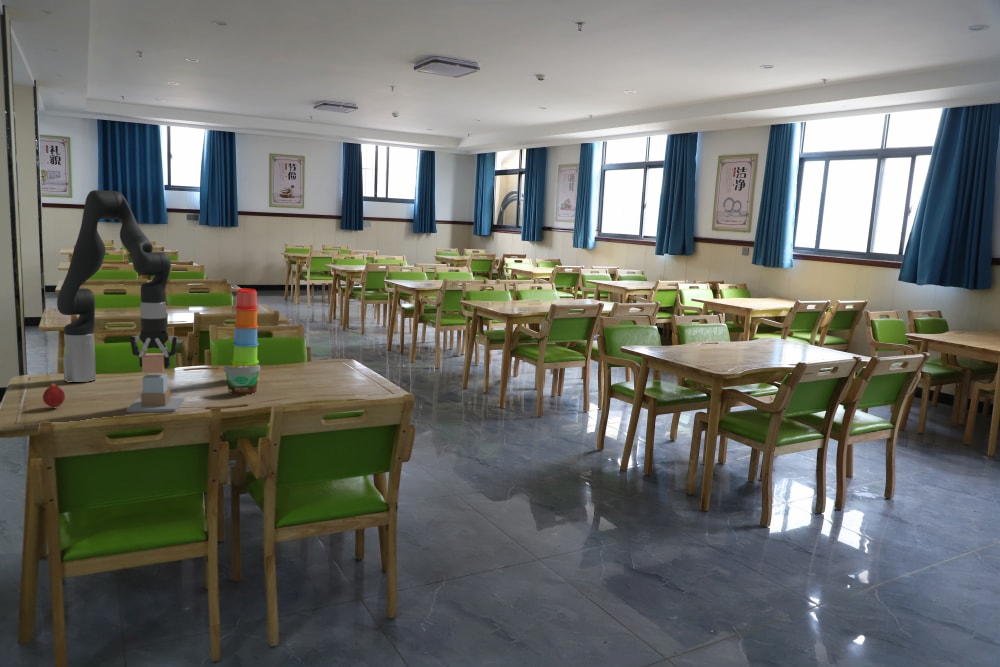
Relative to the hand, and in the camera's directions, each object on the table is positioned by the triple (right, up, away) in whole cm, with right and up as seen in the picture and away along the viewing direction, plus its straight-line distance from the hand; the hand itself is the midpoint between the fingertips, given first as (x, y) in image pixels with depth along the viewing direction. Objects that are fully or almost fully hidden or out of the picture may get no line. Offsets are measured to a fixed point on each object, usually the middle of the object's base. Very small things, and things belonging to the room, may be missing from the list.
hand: (155, 368), depth 234 cm
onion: (-29, -12, -6) cm, 32 cm away
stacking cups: (+13, -7, +44) cm, 46 cm away
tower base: (-1, -12, +2) cm, 12 cm away
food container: (+20, -10, +23) cm, 32 cm away
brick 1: (0, -1, 0) cm, 1 cm away
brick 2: (0, -7, +1) cm, 7 cm away
